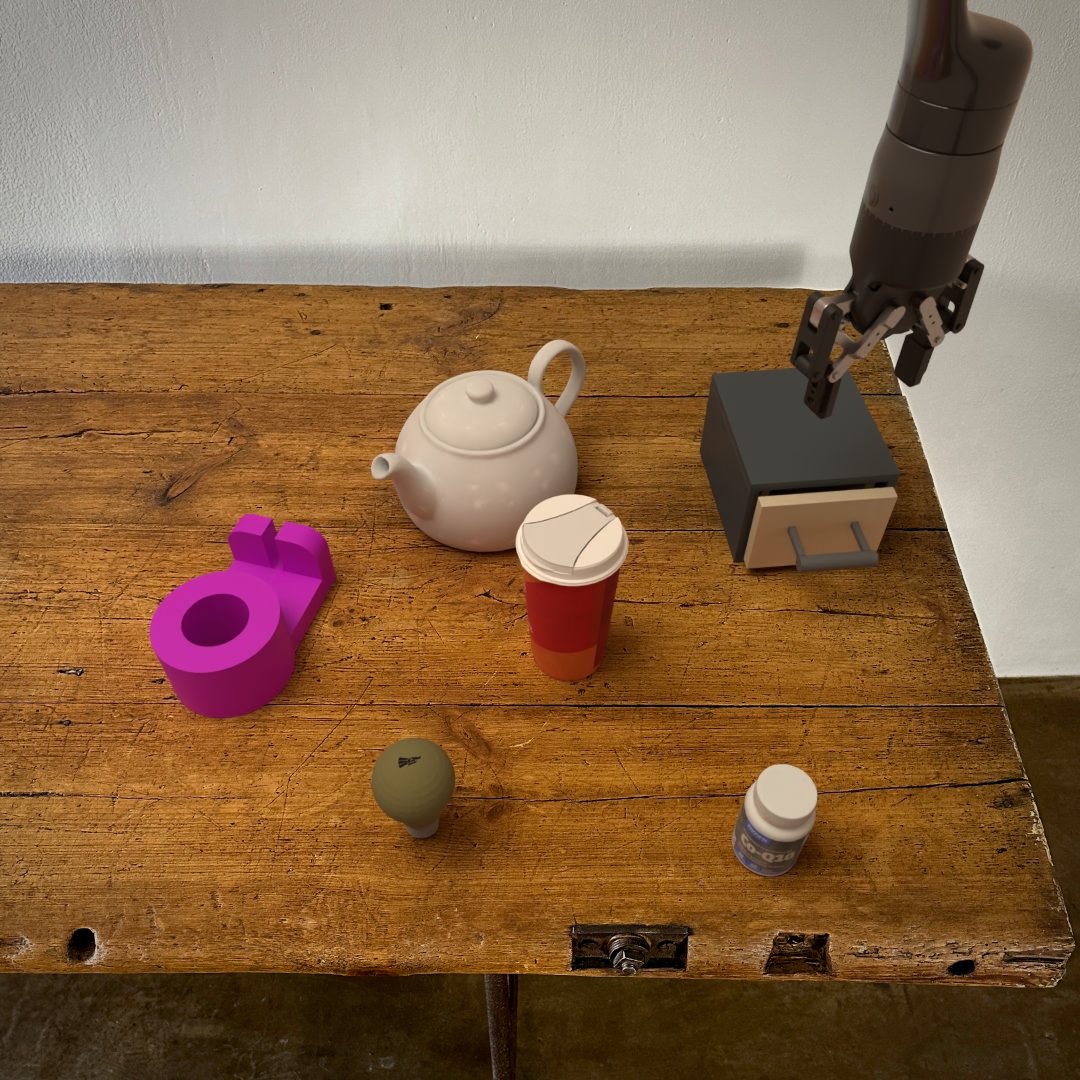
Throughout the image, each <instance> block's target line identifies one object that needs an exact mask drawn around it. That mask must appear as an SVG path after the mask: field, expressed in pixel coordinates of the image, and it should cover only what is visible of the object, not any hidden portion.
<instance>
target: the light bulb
mask: <svg viewBox="0 0 1080 1080" xmlns="http://www.w3.org/2000/svg"><path fill="white" fill-rule="evenodd" d="M370 781H371V789H372V791H371V792H372V794H373V798H374V800H375V802H376V804H377V805H378V807H379V808H380V810H381V811H382V812H383V813H384V814H385V815H386V816H387V817H389V818H390V819H392V820H394V821H395V822H398V823H401V824H403V825H405V829H406V831H407V833H408V834H409V835H410V836H412V837H414V838H416V839H426V838H429V837H431V836H433V834H435V833H436V831H437V830H438V828H439V825H440V817H439V816H440V814H441V813H442V812H443V811H444V810H445V809H446V808H447V807H448V806H449V803H450V802H451V800H452V797H453V796H454V795H453V794H454V792H455V789H456V772H455V768H454V764H453V762H452V759H451V758H450V757H449V755H448V753H447V752H446V750H444V748H442V747H441V746H440V745H438V743H436V742H434V741H432V740H430V739H427V738H424V737H423V738H422V737H408V738H403V739H400V740H397V741H396V742H394V743H392V744H390V745H389V746H387V748H385V749H384V750H383V751H382V753H380V755H379V756H378V758H377V759H376V761H375V763H374V766H373V768H372V773H371V780H370Z"/></svg>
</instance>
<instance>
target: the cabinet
mask: <svg viewBox="0 0 1080 1080" xmlns="http://www.w3.org/2000/svg"><path fill="white" fill-rule="evenodd" d="M840 379H841V384H840V387H839V391H838V394H837V398H836V401H835V405H834V408H833V412H832V415H831V416H830V417H827V418H824V419H820V418H819V417H818V416H816V415H815V414H814V413H813V412H812V411H811V410H810V409H809V408H808V406H807V405H806V404H805V403H804V396H805V392H806V389H807V384H808V380H809V379H808V378H807V377H806V376H805V375H803V374H802V373H801V372H800V371H799V370H798V369H797V368H796V367H791V368H777V369H762V370H761V369H760V370H743V371H730V372H716V373H715V372H714V373H711V380H710V385H709V390H708V396H707V397H708V398H707V403H706V410H705V414H704V421H703V426H702V427H703V428H702V434H701V440H700V447H699V453H700V457H701V461H702V464H703V467H704V470H705V473H706V476H707V480H708V483H709V485H710V489H711V493H712V496H713V499H714V502H715V505H716V508H717V513H718V515H719V518H720V522H721V524H722V528H723V531H724V534H725V538H726V541H727V543H728V548H729V551H730V553H731V557H732V560H733V562H745V561H744V555H745V551H746V547H747V543H748V538H749V534H750V530H751V526H752V522H753V517H754V513H755V509H756V505H757V501H758V497H759V494H760V491H770V490H784V489H797V488H811V487H825V486H839V485H852V484H866V483H875V486H874V488H886V487H893V488H894V490H895V491H896V488H897V485H898V482H899V480H900V477H901V475H902V473H901V471H900V469H899V467H898V465H897V463H896V460H895V459H894V457H893V455H892V453H891V451H890V449H889V447H888V446H887V443H886V441H885V439H884V437H883V435H882V433H881V431H880V429H879V427H878V425H877V423H876V421H875V420H874V417H873V415H872V413H871V412H870V409H869V407H868V406H867V403H866V401H865V399H864V397H863V396H862V394H861V392H860V390H859V388H858V386H857V384H856V382H855V379H854V377H853V375H852V374H851V372H850V370H849V368H848V369H847V370H846V372H845V373H844V374H843V375H842V376H841V378H840Z"/></svg>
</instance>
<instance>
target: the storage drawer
mask: <svg viewBox="0 0 1080 1080" xmlns="http://www.w3.org/2000/svg"><path fill="white" fill-rule="evenodd" d="M874 486H875V483H866V484H852V485H839V486H825V487H811V488H797V489H784V490H770V491H760V494H759V497H758V501H757V505H756V509H755V513H754V517H753V522H752V526H751V530H750V534H749V538H748V543H747V547H746V551H745V555H744V561H743V562H744V564H745V567H746V569H747V570H748V569H759V568H760V569H761V568H773V567H784V566H795V568H796V571H797V573H799V574H805V573H817V572H830V571H843V570H845V571H846V570H855V569H870V568H877V567H878V565H879V561H880V559H879V554H878V552H877V551H878V548H879V546H880V544H881V541H882V539H883V536H884V534H885V531H886V529H887V526H888V523H889V522H890V521H889V520H890V518H891V516H892V513H893V510H894V509H895V505H896V503H897V500H898V498H899V496H898V494H897V492H896V489H895V490H894V488H893V487H886V488H874Z"/></svg>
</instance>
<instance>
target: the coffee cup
mask: <svg viewBox="0 0 1080 1080" xmlns="http://www.w3.org/2000/svg"><path fill="white" fill-rule="evenodd" d="M629 547H630V546H629V537H628V534H627V531H626V529H625V527H624V525H622V521H621V520H620V517H618V516H617V517H616V515H615V514H614V512H613V511H612V510H611V509H609V508H608V506H606V505H604V504H603V503H599V502H598V499H596V498H593V497H591V496H587V495H582V494H574V495H560V496H556V497H552V498H549V499H547V500H545V501H543V502H541V503H539V504H538V505H536V506H535V507H534V508H533V509H532V510H531V511H530V512H529V513H528V515H527V516H526V518H525V520H524V522H523V523H522V525H521V526H520V528H519V530H518V532H517V536H516V547H515V549H516V553H517V556H518V558H519V562H520V565H521V567H522V573H523V574H522V575H523V583H524V585H523V586H524V594H525V603H526V612H527V622H528V629H529V638H530V644H531V652H532V656H533V660H534V662H535V664H536V665H537V667H538V668H539V669H540V670H541V672H543V673H544V674H546V675H547V676H549V677H550V678H553V679H556V680H559V681H566V682H567V681H568V682H569V681H571V682H573V681H578V680H579V681H580V680H582V679H585V678H587V677H588V676H590V675H593V673H595V672H596V671H597V670H598V668H599V667H600V666H601V663H602V661H603V658H604V655H605V652H606V646H607V641H608V637H609V632H610V626H611V621H612V616H613V609H614V604H615V600H616V593H617V589H618V583H619V577H620V571H621V567H622V566H623V564H624V562H625V560H626V558H627V556H628V553H629Z"/></svg>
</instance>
